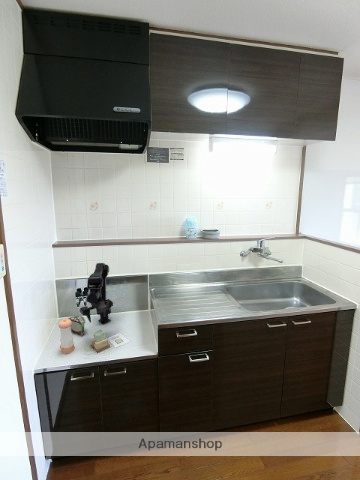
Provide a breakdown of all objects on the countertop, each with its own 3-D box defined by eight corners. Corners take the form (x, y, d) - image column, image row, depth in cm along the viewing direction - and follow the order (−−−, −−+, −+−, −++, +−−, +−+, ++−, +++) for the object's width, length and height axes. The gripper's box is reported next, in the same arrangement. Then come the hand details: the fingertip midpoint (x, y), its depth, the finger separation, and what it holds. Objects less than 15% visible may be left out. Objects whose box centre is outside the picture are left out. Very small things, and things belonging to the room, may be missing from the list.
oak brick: (92, 344, 147) (91, 338, 146) (102, 339, 151) (102, 334, 150) (96, 349, 142) (95, 344, 141) (107, 345, 146) (107, 339, 145)
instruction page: (106, 338, 155) (106, 338, 155) (119, 333, 161) (119, 332, 161) (115, 347, 146) (115, 347, 146) (129, 341, 152) (129, 341, 152)
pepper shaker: (70, 344, 149) (67, 314, 145) (76, 349, 145) (74, 319, 141) (58, 350, 144) (55, 319, 140) (64, 355, 139) (61, 324, 135)
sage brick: (93, 338, 146) (93, 332, 145) (100, 335, 149) (100, 329, 148) (97, 342, 143) (97, 336, 142) (104, 338, 146) (104, 332, 145)
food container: (90, 332, 162) (89, 317, 160) (83, 337, 156) (82, 322, 154) (76, 327, 167) (75, 313, 165) (68, 332, 162) (67, 318, 159)
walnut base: (90, 347, 147) (90, 343, 147) (103, 341, 153) (103, 338, 152) (97, 354, 142) (96, 350, 141) (110, 348, 147) (109, 344, 147)
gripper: (86, 305, 137) (88, 331, 140) (117, 295, 149) (118, 319, 153) (78, 298, 145) (80, 323, 148) (108, 290, 157) (109, 312, 161)
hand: (97, 319), depth 152 cm, fingers open, 9 cm apart
